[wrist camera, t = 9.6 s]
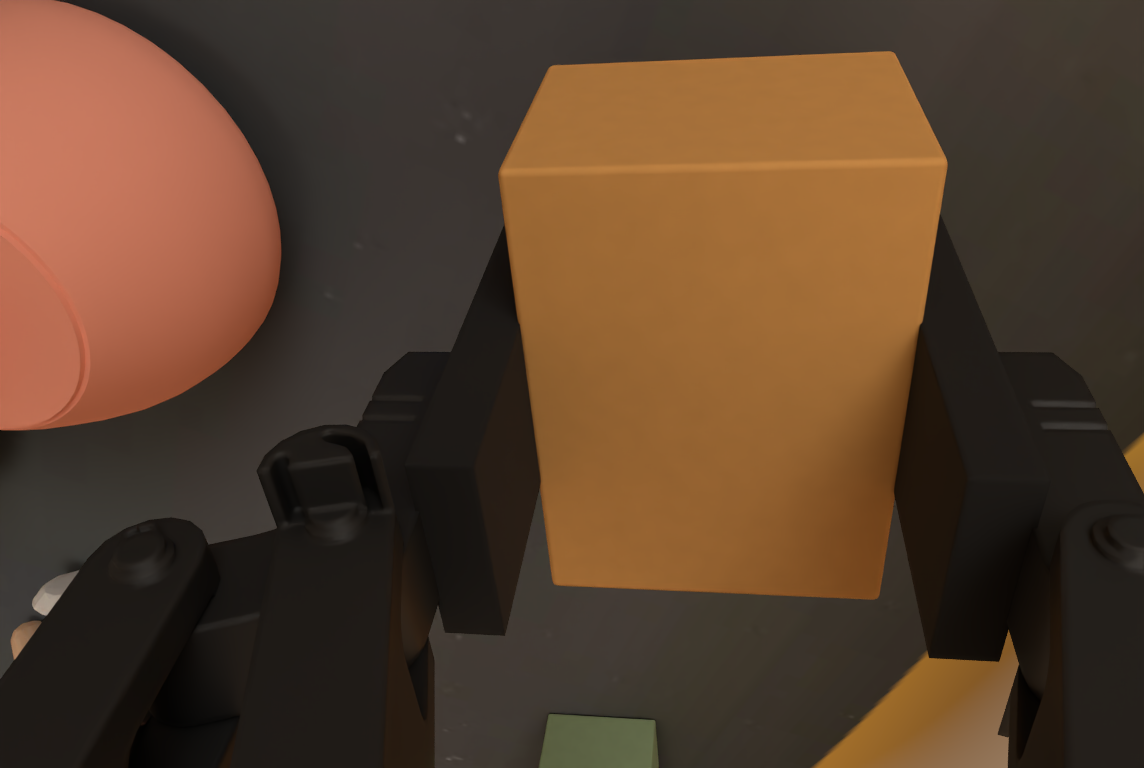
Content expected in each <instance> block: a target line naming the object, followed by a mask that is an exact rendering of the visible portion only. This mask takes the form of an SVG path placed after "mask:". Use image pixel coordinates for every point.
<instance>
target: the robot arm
mask: <svg viewBox="0 0 1144 768" xmlns="http://www.w3.org/2000/svg"><path fill="white" fill-rule="evenodd" d="M362 416H363V420H360V421H359V423H358V425H357V427H353V426H350V425H323V426H319V427H315V428H311V429H307V430H303V431H300V432H298V433H296V434H294V435H293V436H291V437H289V438H287V439H285V440H283V441H281V442H280V443H278V444H277V445H276V446H275V447H274V448H273V449H272V450H270V451H269V452H268V453H267V454H266V455H265V456H264V458H263V460H262V462H261V464H260V466H259V468H258V469H257V474H258V476H259V479H260V482H261V485H262V487H263V490H264V493H265V496H266V498H267V501H268V504H269V506H270V509H271V512H272V515H273V517H274V520H275V523H276V526H277V528H276V529H274V530H271V531H268V532H264V533H261V534H257V535H253V536H248V537H243V538H239V539H234V540H229V541H224V542H219V543H215V544H210V545H208V543H207V541H206V538H205V536H204V534H203V531H202V530H201V529H200V528H198V527H197V526H196V525H194V524H193V523H192V522H191V521H187V520H182V519H176V518H163V519H154V520H148V521H145V522H142V523H140V524H137V525H134V526H131V527H128V528H126V529H124V530H122V531H121V532H119V533H118V534H116V535H114V536H113V537H111V538H110V539H108V540H106V541H105V542H104V543H103V544H102V545H101V546H100V547H99V548H98V549H97V550H96V551H95V552H94V553H93V554H92V555H91V556H90V557H89V558H88V559H87V561H86V562H85V563H84V565H83V566H82V568H81V569H80V570H79V572H78V573H77V574H76V576H75V577H74V579H73V580H72V581H71V583H70V584H69V585H68V587H67V588H66V590H65V591H64V592H63V594H62V595H61V597H60V598H59V599H58V601H57V602H56V603H55V605H54V606H53V608H52V609H51V610H50V612H49V613H48V614H47V616H46V617H45V619H44V620H43V621H42V623H41V624H40V626H39V627H38V628H37V630H36V631H35V632H34V634H33V635H32V637H31V638H30V639H29V641H28V642H27V643H26V645H25V646H24V648H23V649H22V650H21V652H20V653H19V654H18V656H17V657H16V659H15V660H14V661H13V663H12V664H11V666H10V667H9V668H8V670H7V671H6V672H5V674H4V675H3V677H2V678H1V679H0V768H434V657H433V653H432V649H431V645H430V641H429V637H428V634H429V631H430V628H431V625H432V622H433V619H434V615H435V612H436V609H437V606H439V610H440V614H441V618H442V622H443V626H444V630H445V633H464V634H483V635H503V636H505V633H506V629H507V625H508V620H509V616H510V612H511V608H512V603H513V599H514V595H515V590H516V586H517V582H518V578H519V573H520V569H521V565H522V560H523V556H524V552H525V548H526V543H527V539H528V535H529V531H530V526H531V522H532V518H533V513H534V509H535V505H536V501H537V496H538V492H539V488H540V483H541V480H540V472H539V465H538V457H537V450H536V442H535V435H534V427H533V420H532V412H531V405H530V397H529V390H528V382H527V375H526V367H525V360H524V352H523V345H522V337H521V330H520V324H519V323H518V319H517V312H516V305H515V297H514V290H513V282H512V275H511V267H510V260H509V252H508V245H507V237H506V230H505V224H504V227H503V229H502V232H501V234H500V236H499V239H498V241H497V244H496V246H495V248H494V251H493V253H492V256H491V258H490V260H489V263H488V265H487V267H486V270H485V272H484V275H483V277H482V279H481V282H480V284H479V287H478V289H477V291H476V294H475V296H474V299H473V301H472V303H471V306H470V308H469V311H468V313H467V315H466V318H465V320H464V323H463V325H462V327H461V330H460V332H459V335H458V337H457V339H456V342H455V344H454V347H453V349H452V351H451V352H408V353H407V354H405V355H404V356H403V357H402V358H401V359H400V360H398V361H397V362H396V363H395V364H394V365H392V366H391V367H390V368H389V369H388V370H387V371H385V372H384V374H383V376H382V378H381V380H380V382H379V384H378V386H377V388H376V390H375V392H374V394H373V396H372V401H370V402H369V404H368V406H367V408H366V409H365V411H364V413H363V415H362ZM894 495H895V500H896V504H897V509H898V514H899V518H900V523H901V528H902V533H903V537H904V542H905V547H906V551H907V556H908V561H909V566H910V570H911V575H912V580H913V584H914V589H915V594H916V599H917V603H918V608H919V613H920V617H921V622H922V627H923V632H924V636H925V641H926V646H927V650H928V655H929V658H940V659H958V660H959V659H960V660H977V661H996V662H999V660H1000V657H1001V654H1002V650H1003V647H1004V643H1005V639H1006V636H1007V633H1008V629H1009V632H1010V635H1011V638H1012V642H1013V645H1014V649H1015V652H1016V655H1017V658H1018V662H1019V666H1018V670H1017V673H1016V676H1015V679H1014V683H1013V686H1012V689H1011V693H1010V696H1009V699H1008V702H1007V705H1006V709H1005V712H1004V715H1003V718H1002V722H1001V725H1000V728H999V731H998V735H1001V736H1005V737H1009V750H1008V751H1009V752H1008V768H1144V493H1143V491H1142V489H1141V487H1140V486H1139V484H1138V482H1137V480H1136V478H1135V476H1134V474H1133V472H1132V470H1131V468H1130V467H1129V465H1128V463H1127V461H1126V459H1125V457H1124V455H1123V453H1122V451H1121V449H1120V447H1119V446H1118V444H1117V442H1116V440H1115V438H1114V436H1113V434H1112V432H1111V430H1107V423H1106V421H1105V419H1104V417H1103V415H1102V413H1101V411H1100V409H1099V408H1096V402H1095V400H1094V398H1093V396H1092V394H1091V392H1090V390H1089V389H1088V387H1087V385H1086V383H1085V381H1084V379H1083V377H1082V376H1081V375H1080V374H1079V373H1077V372H1076V371H1075V370H1074V369H1072V368H1071V367H1070V366H1069V365H1067V364H1066V363H1065V362H1064V361H1062V360H1061V359H1060V358H1059V357H1057V356H1056V355H1055V354H1054V353H1033V352H997V349H996V347H995V345H994V342H993V340H992V337H991V335H990V333H989V330H988V328H987V325H986V323H985V320H984V318H983V316H982V313H981V311H980V308H979V306H978V304H977V301H976V299H975V296H974V294H973V292H972V289H971V287H970V284H969V282H968V280H967V277H966V275H965V272H964V270H963V268H962V265H961V263H960V260H959V258H958V256H957V253H956V251H955V248H954V246H953V244H952V241H951V239H950V236H949V234H948V232H947V229H946V227H945V224H944V222H943V220H942V217H941V215H940V216H939V222H938V229H937V235H936V241H935V247H934V254H933V260H932V266H931V273H930V279H929V285H928V291H927V298H926V304H925V310H924V317H923V321H922V323H921V324H920V328H919V334H918V340H917V347H916V353H915V360H914V366H913V372H912V379H911V385H910V391H909V398H908V404H907V411H906V417H905V423H904V430H903V436H902V442H901V449H900V455H899V462H898V468H897V474H896V481H895V487H894Z"/></svg>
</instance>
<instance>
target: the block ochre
mask: <svg viewBox="0 0 1144 768" xmlns="http://www.w3.org/2000/svg"><path fill="white" fill-rule="evenodd" d="M947 166H948V163H947V160H946V157H945V155H944V153H943V151H942V149H941V147H940V145H939V143H938V141H937V139H936V137H935V135H934V133H933V131H932V129H931V127H930V124H929V122H928V120H927V118H926V116H925V114H924V112H923V110H922V108H921V106H920V104H919V102H918V100H917V98H916V96H915V94H914V92H913V90H912V88H911V86H910V84H909V82H908V80H907V77H906V75H905V73H904V71H903V69H902V67H901V65H900V63H899V61H898V59H897V57H896V55H895V53H893V52H890V51H885V52H861V53H838V54H814V55H790V56H767V57H743V58H719V59H696V60H672V61H648V62H625V63H601V64H577V65H554V66H551V67H549V69H548V71H547V73H546V75H545V77H544V79H543V81H542V83H541V85H540V87H539V89H538V91H537V93H536V95H535V98H534V100H533V102H532V104H531V106H530V108H529V110H528V112H527V114H526V116H525V118H524V120H523V122H522V124H521V126H520V129H519V131H518V133H517V135H516V137H515V139H514V141H513V143H512V145H511V147H510V149H509V151H508V153H507V155H506V157H505V160H504V162H503V164H502V166H501V168H500V170H499V174H498V178H499V185H500V193H501V200H502V208H503V215H504V222H505V230H506V237H507V245H508V252H509V260H510V267H511V275H512V282H513V290H514V297H515V305H516V312H517V319H518V323H519V324H520V330H521V337H522V345H523V352H524V360H525V367H526V375H527V382H528V390H529V397H530V405H531V412H532V420H533V427H534V435H535V442H536V450H537V457H538V465H539V472H540V480H541V483H540V491H541V499H542V506H543V513H544V521H545V528H546V536H547V543H548V551H549V558H550V566H551V573H552V580H553V583H554V584H555V585H558V586H580V587H602V588H625V589H648V590H671V591H693V592H716V593H739V594H761V595H784V596H807V597H829V598H852V599H877V598H878V596H879V593H880V587H881V581H882V575H883V568H884V562H885V556H886V549H887V543H888V537H889V531H890V524H891V518H892V512H893V505H894V499H895V495H894V487H895V481H896V474H897V468H898V462H899V455H900V449H901V442H902V436H903V430H904V423H905V417H906V411H907V404H908V398H909V391H910V385H911V379H912V372H913V366H914V360H915V353H916V347H917V340H918V334H919V328H920V324H921V323H922V321H923V317H924V310H925V304H926V298H927V291H928V285H929V279H930V273H931V266H932V260H933V254H934V247H935V241H936V235H937V229H938V222H939V216H940V210H941V203H942V197H943V191H944V184H945V178H946V172H947Z"/></svg>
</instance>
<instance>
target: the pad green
mask: <svg viewBox="0 0 1144 768" xmlns="http://www.w3.org/2000/svg"><path fill="white" fill-rule="evenodd" d="M539 768H659V761H658V748H657V736H656V723H655V720H645V719H629V718H612V717H595V716H579V715H562V714H549V715H548V720H547V725H546V731H545V736H544V741H543V747H542V752H541V758H540V763H539Z"/></svg>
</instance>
